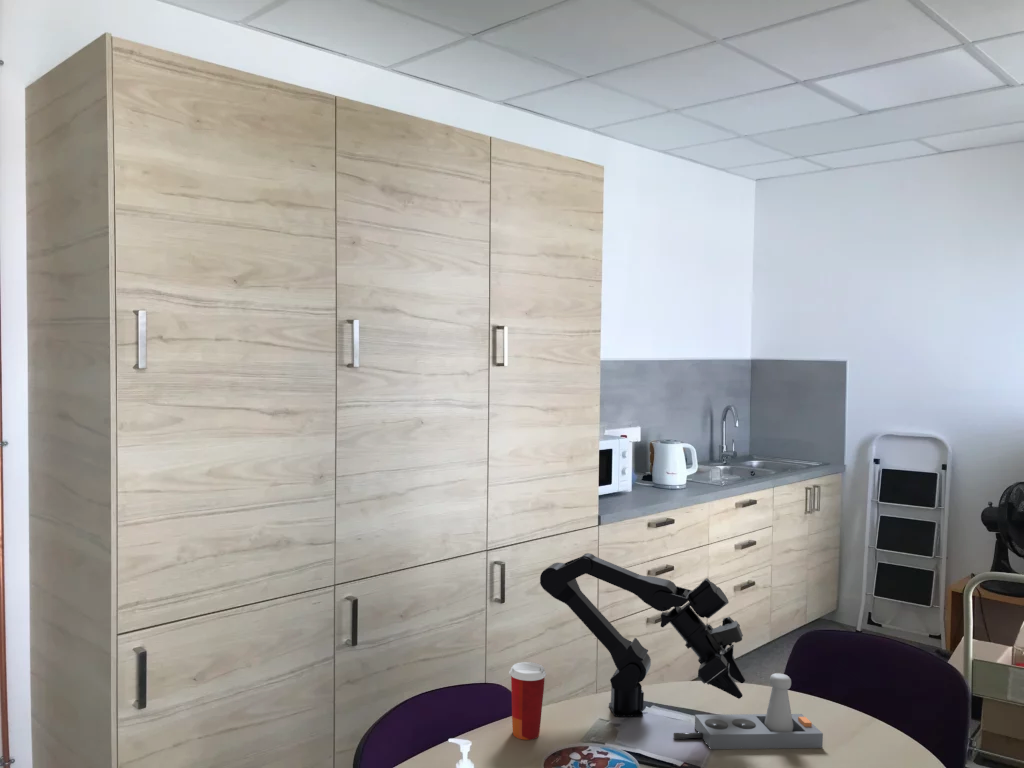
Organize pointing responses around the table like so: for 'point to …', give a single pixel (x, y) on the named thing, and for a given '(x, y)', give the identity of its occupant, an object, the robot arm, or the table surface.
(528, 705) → the paper cup
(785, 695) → the salt shaker
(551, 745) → the table surface
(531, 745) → the table surface
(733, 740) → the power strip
